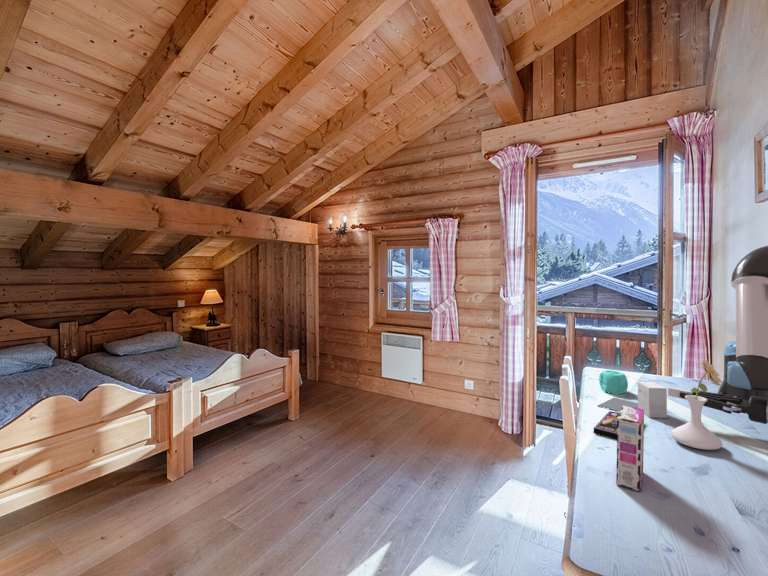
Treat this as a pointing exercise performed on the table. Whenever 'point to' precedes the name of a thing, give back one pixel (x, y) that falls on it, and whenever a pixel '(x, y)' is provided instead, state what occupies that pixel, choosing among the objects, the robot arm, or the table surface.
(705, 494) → the table surface
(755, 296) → the robot arm
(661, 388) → the small box
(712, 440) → the flower in vase
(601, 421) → the vhs tape
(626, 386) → the decorative dice
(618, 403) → the grey mat
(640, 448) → the candy bar box
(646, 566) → the table surface
